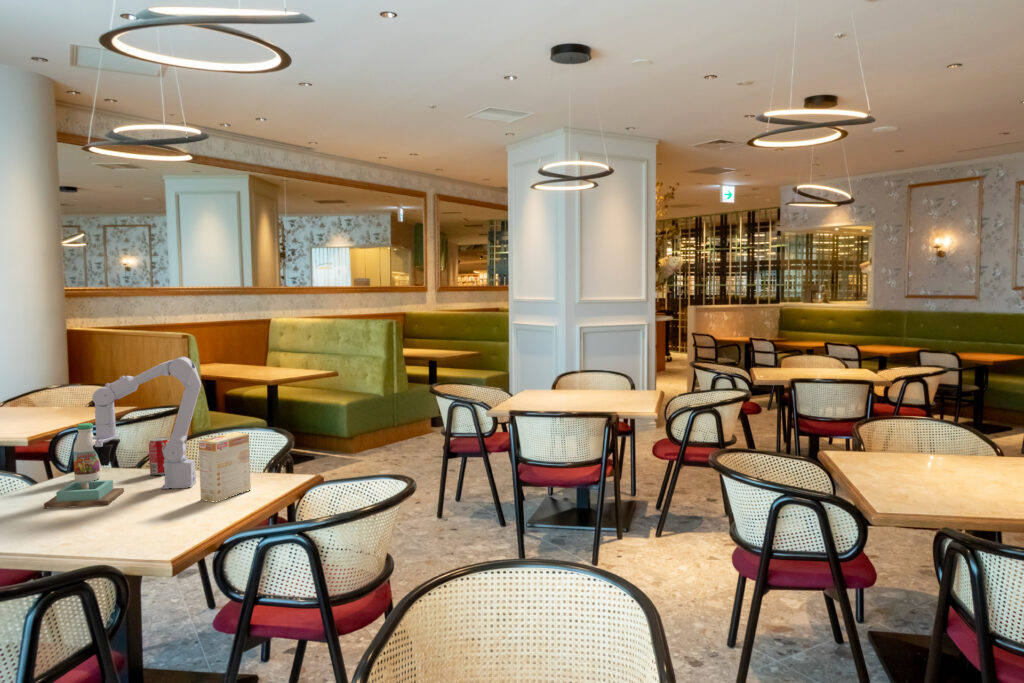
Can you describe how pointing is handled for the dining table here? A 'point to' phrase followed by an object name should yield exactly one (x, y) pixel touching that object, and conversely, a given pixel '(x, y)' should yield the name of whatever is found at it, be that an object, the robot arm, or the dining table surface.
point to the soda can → (157, 454)
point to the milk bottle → (85, 455)
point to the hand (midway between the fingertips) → (107, 463)
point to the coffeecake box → (224, 466)
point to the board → (85, 486)
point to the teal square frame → (84, 491)
